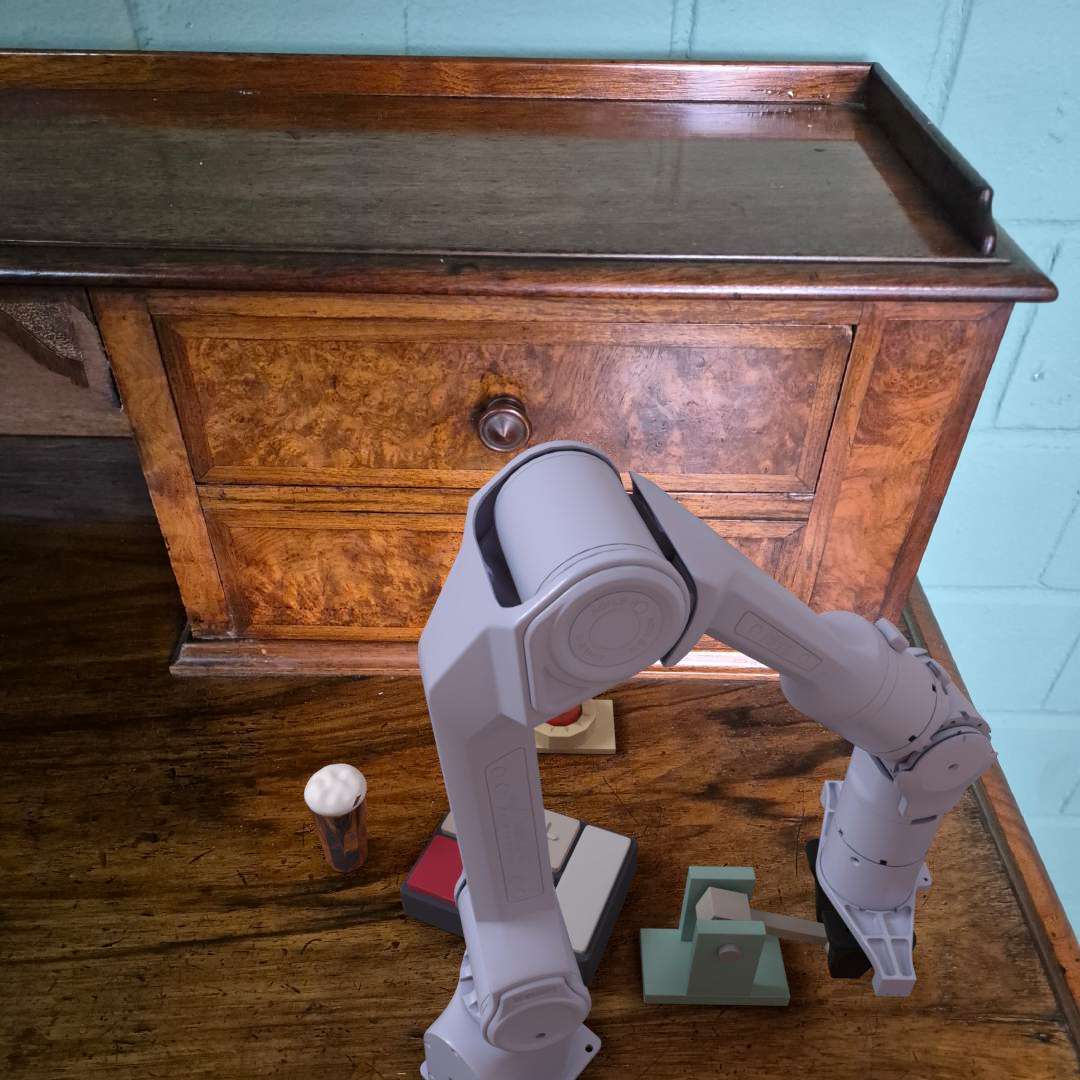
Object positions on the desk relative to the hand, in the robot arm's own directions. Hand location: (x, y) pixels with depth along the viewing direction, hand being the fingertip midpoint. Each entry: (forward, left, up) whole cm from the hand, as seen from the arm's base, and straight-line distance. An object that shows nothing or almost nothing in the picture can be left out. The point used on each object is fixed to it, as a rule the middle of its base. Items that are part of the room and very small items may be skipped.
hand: (838, 949), depth 66 cm
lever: (-3, +4, +1) cm, 5 cm away
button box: (+5, +30, -3) cm, 30 cm away
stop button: (+5, +30, -1) cm, 30 cm away
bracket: (-5, +6, -3) cm, 9 cm away
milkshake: (-17, +33, -3) cm, 37 cm away
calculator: (-10, +21, -3) cm, 23 cm away
